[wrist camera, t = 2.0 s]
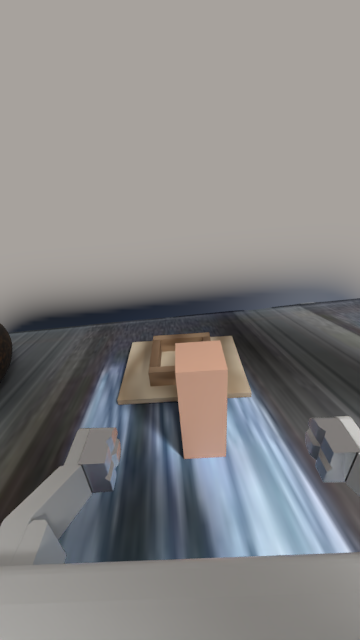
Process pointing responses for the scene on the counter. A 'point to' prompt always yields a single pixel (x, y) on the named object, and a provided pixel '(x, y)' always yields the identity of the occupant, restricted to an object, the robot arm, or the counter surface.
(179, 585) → the robot arm
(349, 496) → the counter surface
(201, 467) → the counter surface
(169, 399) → the housing
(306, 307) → the counter surface
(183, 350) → the block
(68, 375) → the counter surface
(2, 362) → the glass bottle
